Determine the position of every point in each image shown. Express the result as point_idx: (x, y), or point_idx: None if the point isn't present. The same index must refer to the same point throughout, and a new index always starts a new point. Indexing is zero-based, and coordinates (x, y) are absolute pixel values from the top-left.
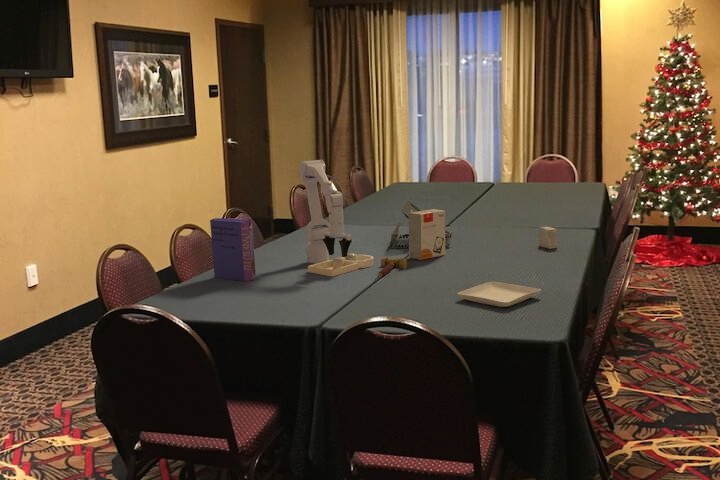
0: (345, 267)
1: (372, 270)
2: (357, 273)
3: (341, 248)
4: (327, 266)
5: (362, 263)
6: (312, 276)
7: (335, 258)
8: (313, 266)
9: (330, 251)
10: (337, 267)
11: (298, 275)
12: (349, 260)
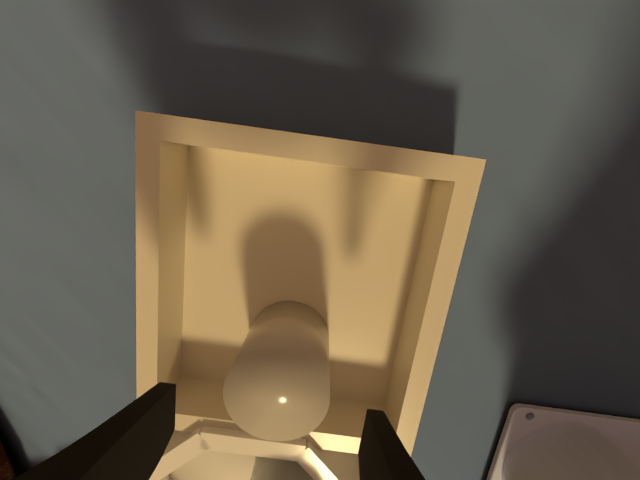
0: (140, 286)
1: (97, 421)
2: (119, 320)
3: (78, 467)
4: (399, 349)
5: None
6: (354, 88)
7: (298, 386)
8: (413, 162)
9: (372, 453)
10: (266, 316)
11: (490, 58)
12: (271, 475)
